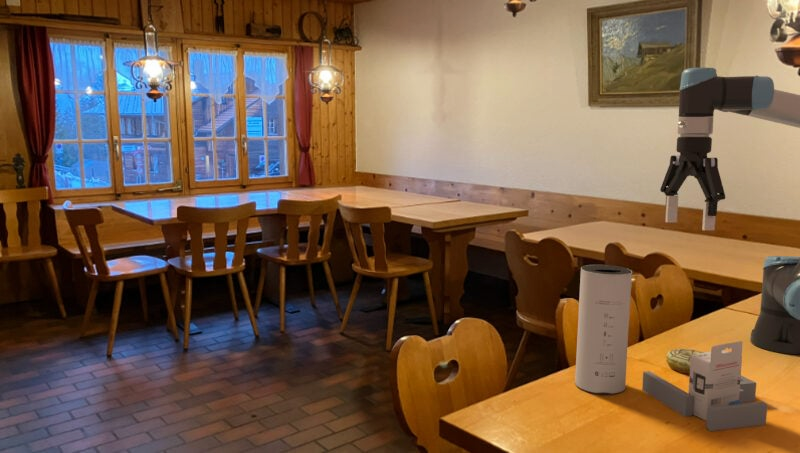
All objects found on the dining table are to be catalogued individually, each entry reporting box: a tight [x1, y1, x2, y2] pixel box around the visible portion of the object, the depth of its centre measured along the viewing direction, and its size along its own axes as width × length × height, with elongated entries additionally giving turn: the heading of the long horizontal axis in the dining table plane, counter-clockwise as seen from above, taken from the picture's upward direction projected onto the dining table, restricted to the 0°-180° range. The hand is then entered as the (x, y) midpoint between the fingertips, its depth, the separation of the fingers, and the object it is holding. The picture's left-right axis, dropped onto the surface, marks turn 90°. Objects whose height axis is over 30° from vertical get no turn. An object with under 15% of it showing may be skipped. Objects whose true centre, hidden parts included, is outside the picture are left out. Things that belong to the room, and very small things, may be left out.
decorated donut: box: [665, 348, 706, 375], centre depth 157 cm, size 10×11×4 cm
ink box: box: [688, 340, 743, 422], centre depth 132 cm, size 9×5×15 cm, turn 114°
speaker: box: [574, 264, 633, 396], centre depth 145 cm, size 11×10×26 cm
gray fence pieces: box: [641, 370, 768, 432], centre depth 137 cm, size 18×21×4 cm
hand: (688, 226), depth 163 cm, fingers open, 13 cm apart
